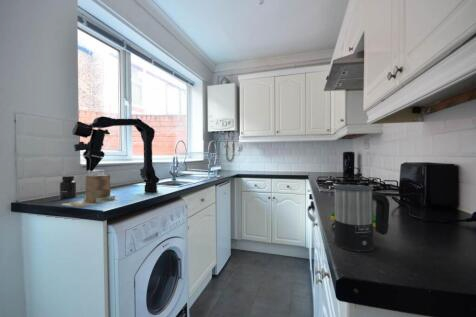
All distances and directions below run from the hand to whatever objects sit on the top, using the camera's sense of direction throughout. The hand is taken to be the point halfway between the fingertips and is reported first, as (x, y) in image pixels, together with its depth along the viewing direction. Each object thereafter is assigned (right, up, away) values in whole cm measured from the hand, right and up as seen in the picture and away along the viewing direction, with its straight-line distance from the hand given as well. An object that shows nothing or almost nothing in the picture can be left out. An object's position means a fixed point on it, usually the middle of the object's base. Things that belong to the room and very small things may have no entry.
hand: (89, 170), depth 110 cm
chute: (+6, -15, -7) cm, 18 cm away
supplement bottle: (-14, -15, +4) cm, 21 cm away
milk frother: (+104, -16, -50) cm, 117 cm away
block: (+7, -14, -4) cm, 16 cm away
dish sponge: (+115, -16, -33) cm, 121 cm away
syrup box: (-7, -15, +17) cm, 23 cm away
